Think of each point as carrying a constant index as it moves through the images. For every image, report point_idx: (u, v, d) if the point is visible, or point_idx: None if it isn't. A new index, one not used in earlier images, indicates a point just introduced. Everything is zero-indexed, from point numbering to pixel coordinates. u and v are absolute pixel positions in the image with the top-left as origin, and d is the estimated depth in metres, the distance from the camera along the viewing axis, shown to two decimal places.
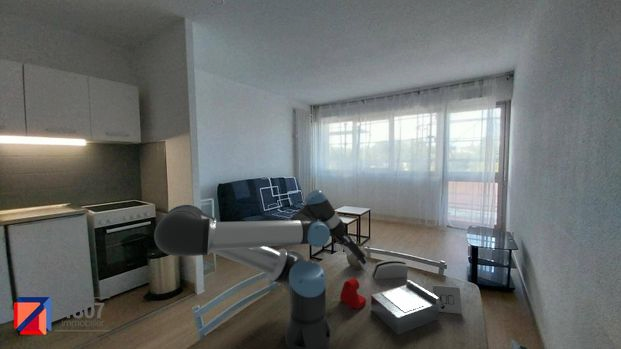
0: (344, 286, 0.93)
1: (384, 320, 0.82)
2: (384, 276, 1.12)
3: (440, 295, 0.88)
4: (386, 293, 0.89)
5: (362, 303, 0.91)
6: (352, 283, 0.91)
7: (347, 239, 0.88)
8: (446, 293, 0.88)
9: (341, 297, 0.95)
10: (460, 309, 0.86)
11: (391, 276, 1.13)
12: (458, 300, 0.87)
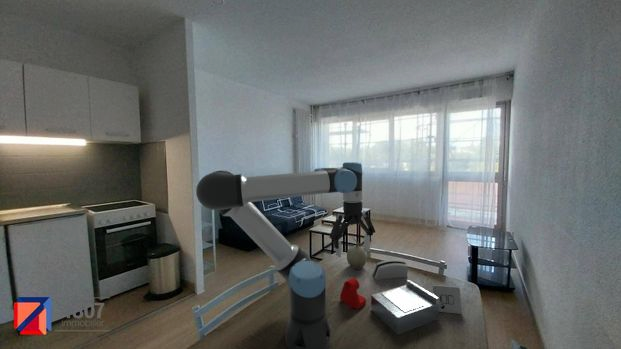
0: (344, 286, 0.93)
1: (384, 320, 0.82)
2: (385, 276, 1.12)
3: (440, 295, 0.88)
4: (386, 293, 0.89)
5: (362, 303, 0.91)
6: (352, 283, 0.91)
7: (337, 216, 0.90)
8: (446, 293, 0.88)
9: (341, 297, 0.95)
10: (460, 309, 0.86)
11: (391, 276, 1.13)
12: (458, 300, 0.87)
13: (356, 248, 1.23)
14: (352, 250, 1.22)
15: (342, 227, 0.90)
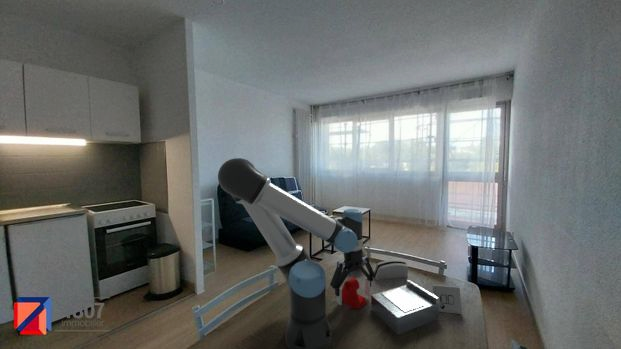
0: (344, 286, 0.93)
1: (384, 320, 0.82)
2: (385, 276, 1.12)
3: (440, 295, 0.88)
4: (386, 293, 0.89)
5: (362, 303, 0.91)
6: (352, 283, 0.91)
7: (338, 264, 0.91)
8: (446, 293, 0.88)
9: None
10: (460, 309, 0.86)
11: (392, 276, 1.13)
12: (458, 300, 0.87)
13: None
14: None
15: (343, 275, 0.91)
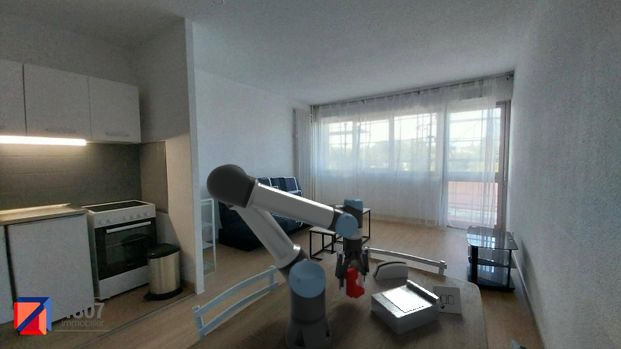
0: None
1: (384, 320, 0.82)
2: (386, 276, 1.12)
3: (440, 295, 0.88)
4: (386, 293, 0.89)
5: (361, 293, 0.91)
6: (351, 273, 0.91)
7: (338, 255, 0.91)
8: (446, 293, 0.88)
9: (340, 287, 0.95)
10: (460, 309, 0.86)
11: (392, 276, 1.13)
12: (458, 300, 0.87)
13: None
14: None
15: (345, 265, 0.92)
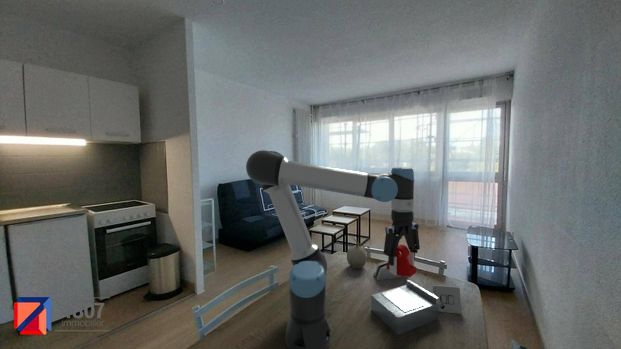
0: None
1: (384, 320, 0.82)
2: (386, 276, 1.12)
3: (440, 295, 0.88)
4: (386, 293, 0.89)
5: (413, 271, 0.82)
6: (402, 249, 0.82)
7: (387, 229, 0.82)
8: (446, 293, 0.88)
9: (388, 266, 0.86)
10: (460, 309, 0.86)
11: (393, 276, 1.12)
12: (458, 300, 0.87)
13: (356, 248, 1.23)
14: (352, 250, 1.22)
15: (394, 241, 0.83)
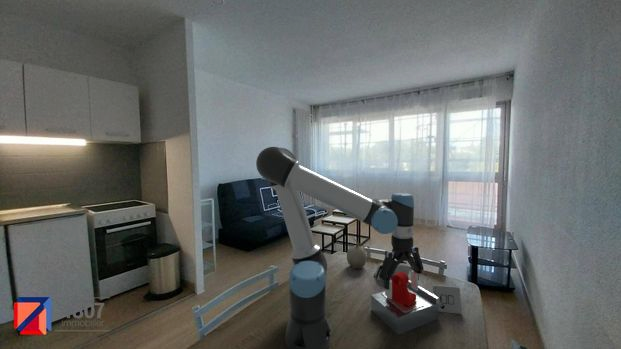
0: None
1: (384, 320, 0.82)
2: (387, 276, 1.11)
3: (440, 295, 0.88)
4: None
5: (413, 300, 0.82)
6: (401, 277, 0.83)
7: (387, 253, 0.82)
8: (446, 293, 0.88)
9: None
10: (460, 309, 0.86)
11: None
12: (458, 300, 0.87)
13: (356, 248, 1.23)
14: (352, 250, 1.22)
15: (392, 265, 0.83)
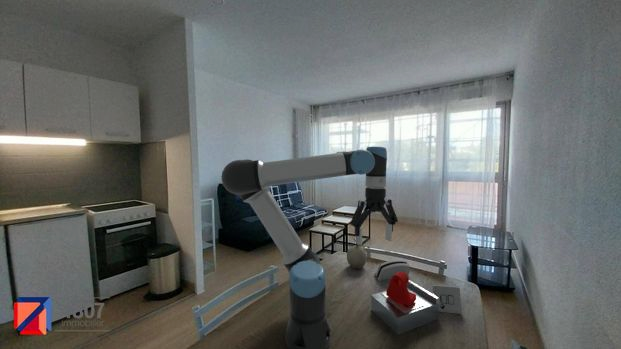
0: (392, 281, 0.85)
1: (384, 320, 0.82)
2: (388, 277, 1.11)
3: (440, 295, 0.88)
4: None
5: (413, 300, 0.82)
6: (402, 277, 0.83)
7: (359, 202, 0.86)
8: (446, 293, 0.88)
9: (387, 293, 0.86)
10: (460, 309, 0.86)
11: None
12: (458, 300, 0.87)
13: (356, 248, 1.23)
14: (352, 250, 1.22)
15: (364, 214, 0.86)
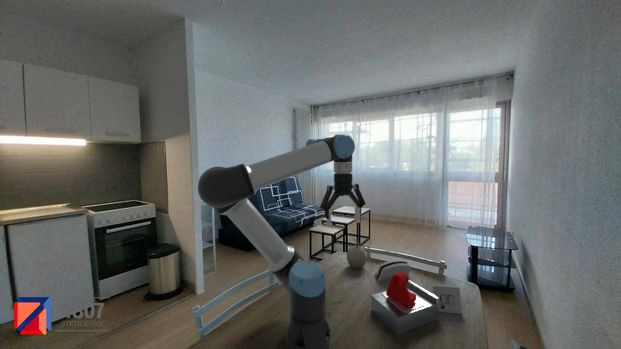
0: (391, 281, 0.85)
1: (384, 320, 0.82)
2: (388, 277, 1.11)
3: (440, 295, 0.88)
4: None
5: (413, 300, 0.82)
6: (401, 277, 0.83)
7: (328, 186, 0.92)
8: (446, 293, 0.88)
9: (387, 293, 0.86)
10: (460, 309, 0.86)
11: None
12: (458, 300, 0.87)
13: (356, 248, 1.23)
14: (352, 250, 1.22)
15: (332, 198, 0.92)
